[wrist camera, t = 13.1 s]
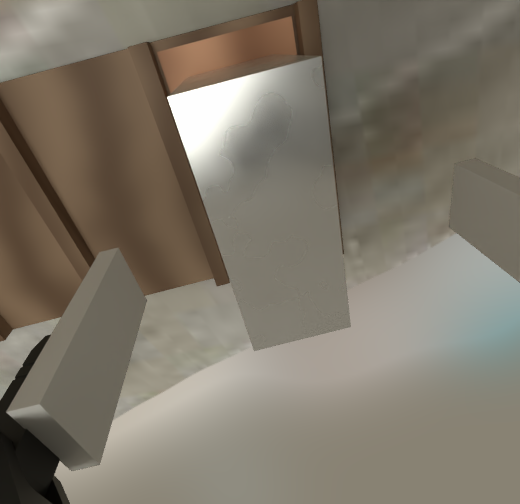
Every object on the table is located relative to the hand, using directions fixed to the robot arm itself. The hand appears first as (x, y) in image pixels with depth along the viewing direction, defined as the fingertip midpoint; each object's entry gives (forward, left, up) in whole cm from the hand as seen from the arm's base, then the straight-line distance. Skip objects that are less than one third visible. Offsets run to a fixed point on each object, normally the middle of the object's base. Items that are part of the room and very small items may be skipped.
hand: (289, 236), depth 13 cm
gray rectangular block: (0, 0, -10) cm, 10 cm away
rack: (+9, 0, -12) cm, 15 cm away
